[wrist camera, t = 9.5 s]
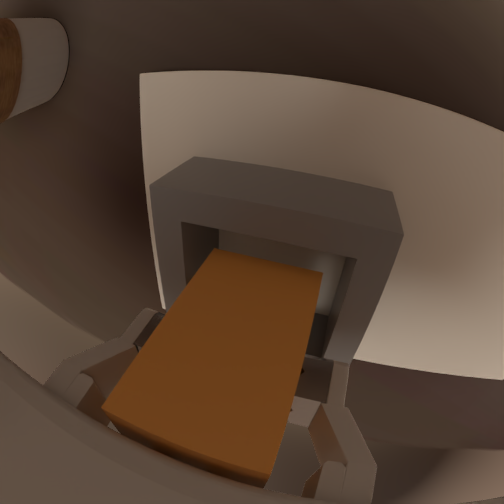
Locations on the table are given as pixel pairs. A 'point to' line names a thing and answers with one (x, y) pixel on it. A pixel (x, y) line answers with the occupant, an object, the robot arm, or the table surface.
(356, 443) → the robot arm
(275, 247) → the white board with socket
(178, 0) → the table surface
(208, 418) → the plug
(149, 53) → the table surface
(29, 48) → the coffee cup
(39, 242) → the table surface
